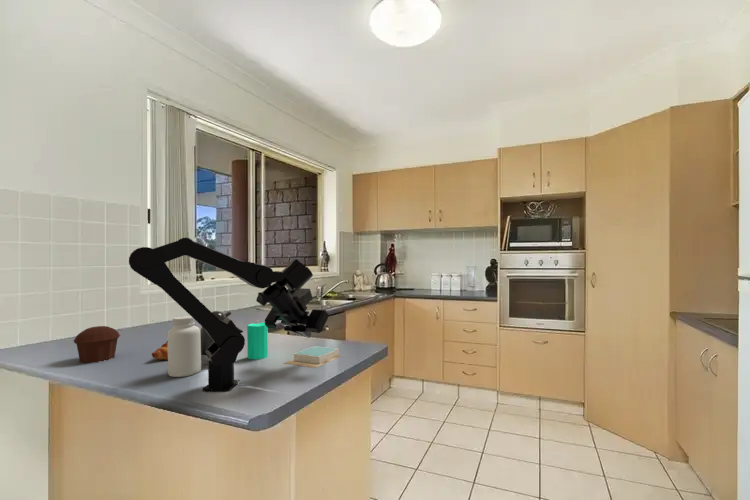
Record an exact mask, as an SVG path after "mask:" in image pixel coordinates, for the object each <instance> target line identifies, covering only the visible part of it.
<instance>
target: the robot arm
mask: <svg viewBox="0 0 750 500" xmlns="http://www.w3.org/2000/svg"><path fill="white" fill-rule="evenodd" d="M183 256H184V257H188V258H191V259H193V260H196V261H199V262H201V263H204V264H206V265H208V266H211V267H214V268H216V269H219V270H222V271H224V272H227V273H230V274H232V275H233V276H235V277H236V278H238V279H239V280H241V281H242V282H244V283H246V284H247V285H249V286H251V287H254V288H258V289H264V290H263V291H260V292H257V297H256V299H255V301H256V302H257V303H258V304H260V305H261V306H263V307H265V306H266V305H267V304H269V305H270V306H271V309H270V310H269V312H268V314H267V315H266V317H265V319H264V323H265V325H266V326H267V327H268V329H270V330H271V329H273V330H274V329H275V330H276V328H277V324H276V323H277V322H278V321H280V324H281V326H283V330H284V331H285V332H288V333H293V334H296V335H299V336H302V337H305V338H311V336H312V333H318V334H319V333H321V332H322V331H323V329H324V327H325V325H326V323H327V322H328V319H329V317H330V315H329V313H328V311H327V310H326V308H325V309H323V308H314V309H312V310H311V312H310V311H307V310H308V306H307V305H308V304H309V303H311V301H313V300H314V297H313V294H312V291H311V288H305V287H304V285H306V284H307V282H309V281H310V279H311V278H313V277H314V275H313V272H312V271H311V269H310V268H309V267H308V266H306V265H304V264H303V263H302V262H300V260H298V258H297V259H296V258H293V259H292V260H291V261H290V262H289V264H288V265H287V266H285V267H284V269H282V270H281V271H280V270H275V271H273V269H272V268H271V267H270V266H269V265H266V264H265V265H264V264H260V263H257V262H256V263H255V262H251V261H246V260H241V259H238V258H236V257H233V256H230V255H229V254H226V253H224V252H221V251H218V250H217V249H213V248H212V247H209V246H206V245H204V244H201V243H199V242H196V241H194V240H193V239H192V238H190V237H182V238H179V239H178V240H176V241H173V242H169V243H167V244H164V245H161V246H158V247H154V248H152V247H149V246H145V247H144V246H142V247H138V248H136V249H134V250H132V252H131V253H130V256H129V257H128V264H129V267H130V268H131V270H133V271H134V272H135V273H136V274H138V275H140V276H141V277H143V278H144V279H146V280H147V281H149V282H151V283H153V284H154V285H155V286H157V287H159V288H160V289H161V290H162V291H164V292H165V293H166V294H167V295H168V296H169V297H170V298H171V299H172V300H174V302H175V303H176V304H177V305H179V306H180V307H181V308H182V309H183V310H184V311H185V312H186V313H187V314H188V316H192V317H193V318H194V319H195V322H197V323H198V324H199V325H200V327H203V328H204V329H205V330H206V332H207V333H208V335H209V336H210V337H211V339H212V340H213V343H212V344H211V345H210V346H209V347H208V348H207V349H206V351H205V352H206V354H207V356H208V358H209V359H210V361H208V365H207V371H208V373H207V375H208V377H207V378H208V379H207V381H208V382H207V383H208V384H207V385H205V386H203V387H202V388H201V390H202V391H203V392H205V391H207V392H220V391H221V392H227V391H231V390H232V389H233V388H234V387H236V386H237V385H238V383H239V382H240V379H235V363H236V361H237V358H238V356H239V354H240V353H241V352H242V351H243V349H244V347H245V345H246V344H245V343H246V339H245V336H244V335H243V334H242V333H244V331H243V330H242V329H240V328H239V327H237V325H235V323H234V321H233V320H232V319H230V318H229V317H226V318H225V319H224V320H223V321H221V320H220V319H218V318H217V317H216V316H215V315H214V314H213V313H212V312H213V311H211V310H210V309H208V308H207V306H206V305H205V304H204V303H203V302H202V301H200V300H199V299H198V298H197V297H196V296H195V295H194V294H193V293H192V292H191V291H190V290H189V289H188V288H187V287H186V286H184V284H182V282H181V281H180V280H178V279H177V278H176V276H174V274H173V273H172V271H171V270H170V268H169V267H168V265H167V264H166V263H167V262H169V261H172V260H175V259H178V258H181V257H183ZM302 287H304V288H302Z"/></svg>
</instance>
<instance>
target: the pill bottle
mask: <svg viewBox="0 0 750 500" xmlns="http://www.w3.org/2000/svg"><path fill="white" fill-rule="evenodd" d="M195 324H196V320H195V319H194V318H193V317H192V316H191V315H185V316H176V317H173V318H172V328H171V329H169V330H168V332H167V340H168V359H167V372H168V376H170V377H172V378H183V377H190V376H193V375H195V374H199V373H200V372H201V370H202V361H201V337H200V330H201V328H200V327H198V326H197V325H195Z"/></svg>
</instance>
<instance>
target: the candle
mask: <svg viewBox="0 0 750 500" xmlns="http://www.w3.org/2000/svg"><path fill="white" fill-rule="evenodd" d="M256 321H257V323H250V324H247V327H246V328H247V329H246V330H247V331H246V332H247V333H246V335H247V339H246V341H247V342H246V343H247V359H248V360H261V359H262V360H263V359H267V358H268V357H269V330H268V329H269V328H268V327H267V326H266V325H265V322H259V319H258V318H257V319H256Z"/></svg>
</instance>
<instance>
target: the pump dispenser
mask: <svg viewBox="0 0 750 500" xmlns="http://www.w3.org/2000/svg"><path fill="white" fill-rule="evenodd" d="M211 312H212V313H213V314H214V315H215V316H216V317H217V318H218V319H220V320H221V321H223V320H224V319H225V318H226V317H227V318H229V317H230V316H231V315H232V312H231V311H228V312H226V313H223V312H222V311H219V310H213V311H211ZM200 337H201V363H203V364H204V365H206V366H208V361H210V359H209V358H208V356H207V354H206V352H205V351H206V349H207V348H208V347H209V346H210V345H211V344H212V343H213V340H212V339H211V337H210V336H209V335H208V333H207V332H206V330H205V329H204V328H203V327H202V326H200Z"/></svg>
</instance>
